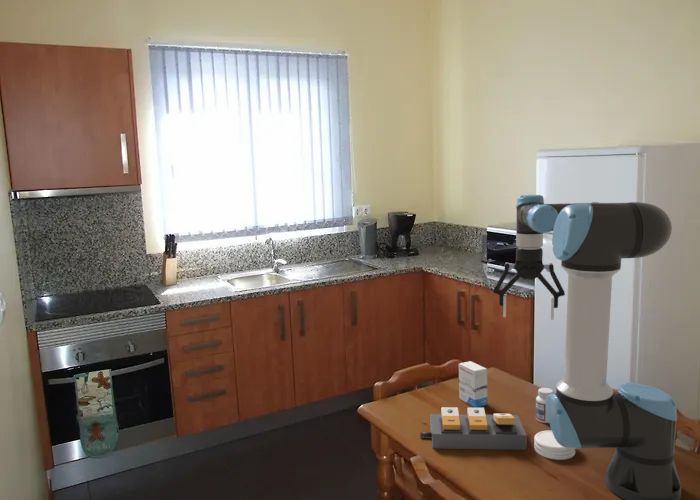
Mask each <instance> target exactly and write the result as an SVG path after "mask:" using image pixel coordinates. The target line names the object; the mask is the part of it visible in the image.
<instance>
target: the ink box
mask: <svg viewBox="0 0 700 500" xmlns="http://www.w3.org/2000/svg"><path fill="white" fill-rule="evenodd" d="M458 385H459V386H458V388H459V391H458V392H459V400H461V401H463V402H465V403H466V404H468V405H470V406H471V407H472V408H482V407H485V406H487V405H488V368H486V367H484V366H482V365H481V364H477V363H475V362H474V361H471V360H469V361H465V362H460V363H458Z"/></svg>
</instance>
